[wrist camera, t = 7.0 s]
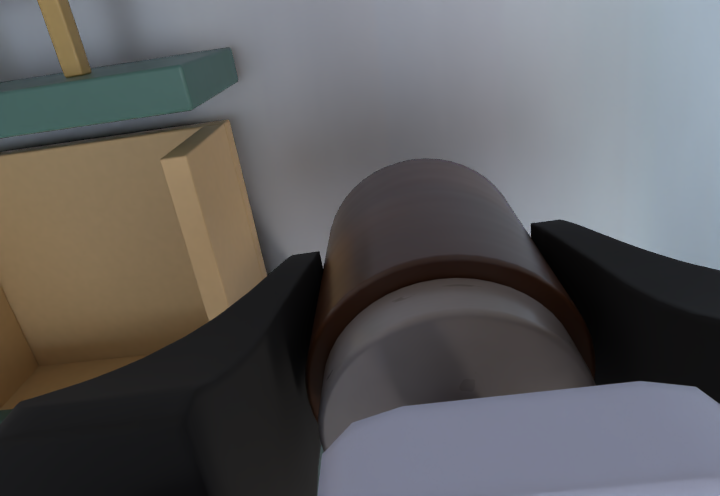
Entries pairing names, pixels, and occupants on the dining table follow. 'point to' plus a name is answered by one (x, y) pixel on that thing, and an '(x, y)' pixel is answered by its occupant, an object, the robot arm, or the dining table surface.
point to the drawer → (115, 216)
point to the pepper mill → (435, 301)
